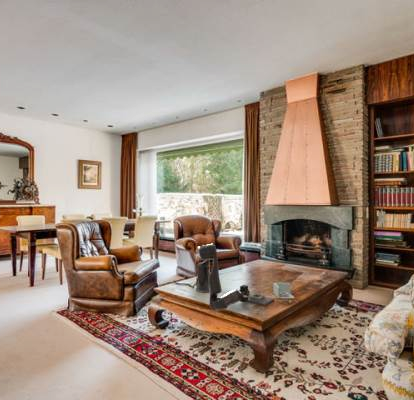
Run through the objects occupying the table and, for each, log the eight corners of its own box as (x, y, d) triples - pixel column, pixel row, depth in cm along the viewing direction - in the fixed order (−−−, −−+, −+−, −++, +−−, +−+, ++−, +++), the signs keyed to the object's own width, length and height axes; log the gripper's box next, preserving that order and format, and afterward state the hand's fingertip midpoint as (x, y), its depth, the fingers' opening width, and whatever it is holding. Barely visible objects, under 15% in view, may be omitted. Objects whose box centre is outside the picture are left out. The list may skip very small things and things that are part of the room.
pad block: (239, 301, 206) (239, 286, 206) (243, 299, 210) (243, 284, 210) (244, 302, 204) (244, 287, 204) (248, 300, 208) (248, 285, 208)
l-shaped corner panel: (278, 298, 218) (278, 287, 218) (273, 292, 230) (273, 282, 230) (295, 298, 218) (295, 287, 218) (289, 292, 230) (289, 282, 230)
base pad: (240, 300, 213) (240, 295, 213) (250, 295, 224) (250, 290, 224) (264, 306, 202) (264, 301, 202) (273, 300, 213) (273, 295, 213)
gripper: (242, 293, 191) (255, 287, 205) (223, 289, 200) (237, 283, 214) (242, 305, 192) (255, 298, 205) (223, 300, 200) (236, 294, 214)
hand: (246, 291), depth 209 cm, fingers closed on pad block, 3 cm apart
